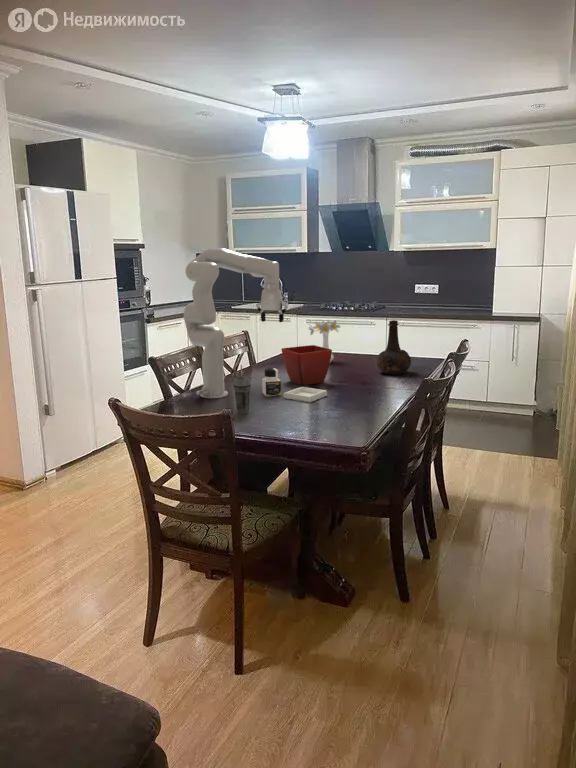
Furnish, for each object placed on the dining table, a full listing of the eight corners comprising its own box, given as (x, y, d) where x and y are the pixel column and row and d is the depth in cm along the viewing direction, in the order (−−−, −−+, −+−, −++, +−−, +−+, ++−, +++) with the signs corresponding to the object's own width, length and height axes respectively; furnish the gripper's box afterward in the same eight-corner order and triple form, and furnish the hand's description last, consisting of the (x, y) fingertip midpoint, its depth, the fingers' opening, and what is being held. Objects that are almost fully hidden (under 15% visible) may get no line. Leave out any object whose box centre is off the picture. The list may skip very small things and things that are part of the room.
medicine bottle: (266, 396, 263) (265, 370, 260) (262, 393, 270) (261, 367, 267) (281, 395, 265) (280, 369, 262) (277, 392, 271) (276, 366, 269)
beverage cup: (252, 409, 241) (250, 362, 237) (251, 414, 234) (250, 365, 230) (234, 410, 241) (232, 362, 236) (233, 415, 234) (231, 366, 229)
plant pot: (281, 380, 295) (280, 347, 292) (313, 376, 304) (313, 344, 300) (299, 388, 279) (298, 353, 275) (333, 383, 287) (333, 349, 283)
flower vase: (309, 360, 348) (309, 318, 342) (340, 360, 346) (340, 318, 340) (308, 364, 335) (307, 321, 330) (340, 364, 333) (340, 321, 328)
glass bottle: (417, 374, 304) (418, 321, 298) (387, 378, 297) (388, 323, 291) (398, 368, 320) (399, 318, 314) (370, 371, 314) (370, 319, 307)
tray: (309, 402, 251) (309, 396, 251) (283, 398, 260) (283, 392, 259) (326, 395, 262) (326, 390, 262) (301, 392, 271) (301, 386, 270)
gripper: (252, 287, 287) (253, 321, 291) (284, 287, 280) (285, 323, 284) (259, 286, 294) (260, 320, 297) (290, 286, 287) (291, 321, 291)
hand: (272, 321), depth 291 cm, fingers open, 9 cm apart
